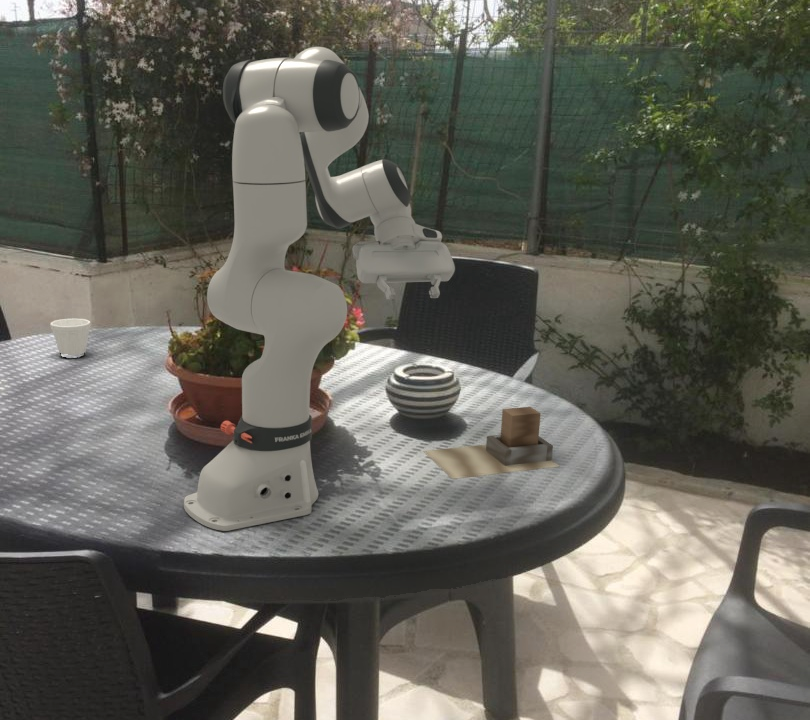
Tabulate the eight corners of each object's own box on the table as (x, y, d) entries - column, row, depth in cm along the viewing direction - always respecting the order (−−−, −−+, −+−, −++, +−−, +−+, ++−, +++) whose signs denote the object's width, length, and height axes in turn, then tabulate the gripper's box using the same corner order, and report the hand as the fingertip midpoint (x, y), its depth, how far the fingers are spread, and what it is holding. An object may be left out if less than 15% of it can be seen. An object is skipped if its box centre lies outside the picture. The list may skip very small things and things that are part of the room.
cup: (78, 349, 230) (75, 316, 228) (100, 355, 225) (98, 322, 222) (44, 356, 222) (42, 322, 220) (67, 363, 217) (64, 328, 214)
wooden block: (508, 460, 158) (512, 415, 155) (499, 453, 161) (502, 409, 159) (536, 457, 160) (540, 413, 157) (526, 450, 163) (530, 406, 161)
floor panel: (451, 486, 149) (453, 463, 148) (422, 458, 161) (423, 436, 160) (559, 473, 156) (561, 451, 155) (523, 447, 169) (525, 426, 168)
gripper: (353, 232, 166) (367, 289, 159) (448, 231, 173) (465, 286, 166) (346, 251, 171) (360, 307, 164) (438, 250, 178) (454, 304, 172)
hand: (413, 297), depth 165 cm, fingers open, 8 cm apart
